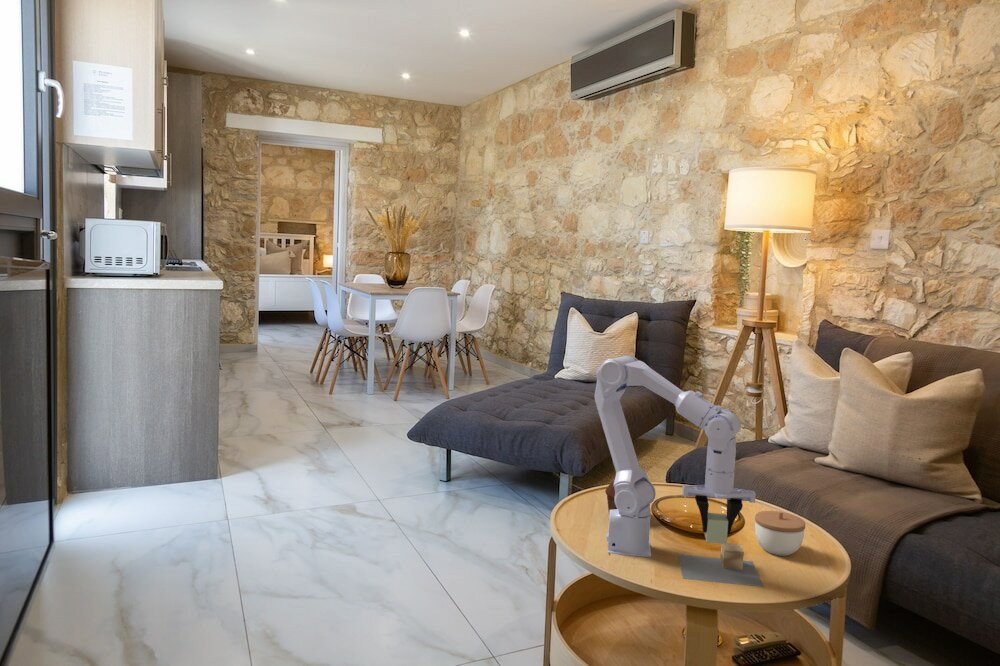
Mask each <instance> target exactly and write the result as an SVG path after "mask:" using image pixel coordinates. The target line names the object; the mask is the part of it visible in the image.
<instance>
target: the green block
mask: <svg viewBox="0 0 1000 666" xmlns="http://www.w3.org/2000/svg"><path fill="white" fill-rule="evenodd" d="M726 516H727V513H716V512H715V513H713V512H708V516H707V532H704V538H705V541H706V543H708V544H719V545H721V544H727V542H728V534H727V532H728V519H727V517H726Z"/></svg>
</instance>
